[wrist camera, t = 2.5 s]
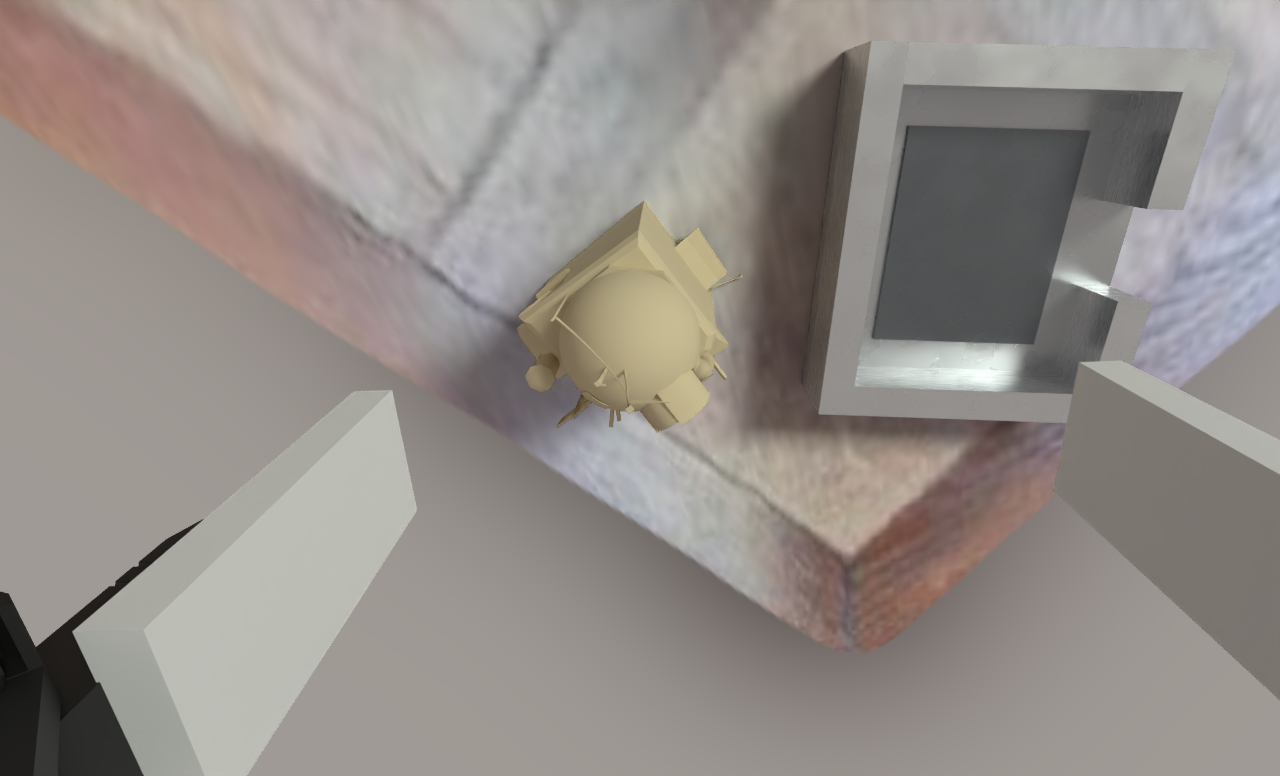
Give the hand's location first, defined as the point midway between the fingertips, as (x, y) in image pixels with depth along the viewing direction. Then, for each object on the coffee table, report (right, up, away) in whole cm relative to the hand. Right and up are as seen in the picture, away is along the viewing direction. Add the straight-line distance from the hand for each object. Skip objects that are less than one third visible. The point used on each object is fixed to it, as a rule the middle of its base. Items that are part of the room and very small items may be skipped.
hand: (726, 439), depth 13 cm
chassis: (+14, +8, +19) cm, 25 cm away
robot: (-2, +5, +21) cm, 22 cm away
